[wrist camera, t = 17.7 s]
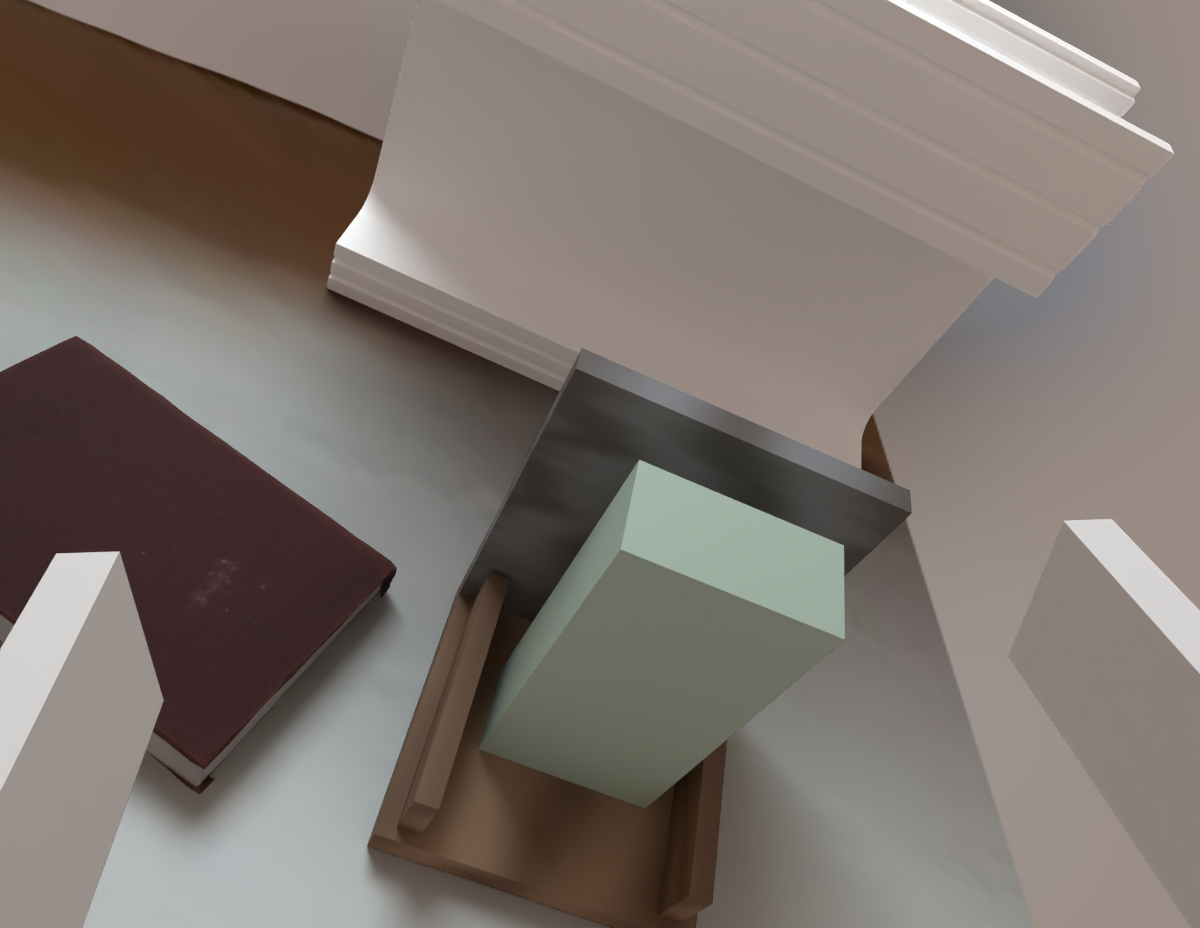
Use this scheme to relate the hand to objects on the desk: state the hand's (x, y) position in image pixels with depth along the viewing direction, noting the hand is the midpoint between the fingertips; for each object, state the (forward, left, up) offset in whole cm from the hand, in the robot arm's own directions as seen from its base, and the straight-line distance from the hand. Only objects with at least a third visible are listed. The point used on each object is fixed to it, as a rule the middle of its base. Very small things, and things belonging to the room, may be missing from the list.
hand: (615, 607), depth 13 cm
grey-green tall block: (+7, +12, -27) cm, 31 cm away
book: (-14, +14, -29) cm, 36 cm away
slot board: (+7, +12, -29) cm, 32 cm away
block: (+4, +39, -29) cm, 49 cm away
